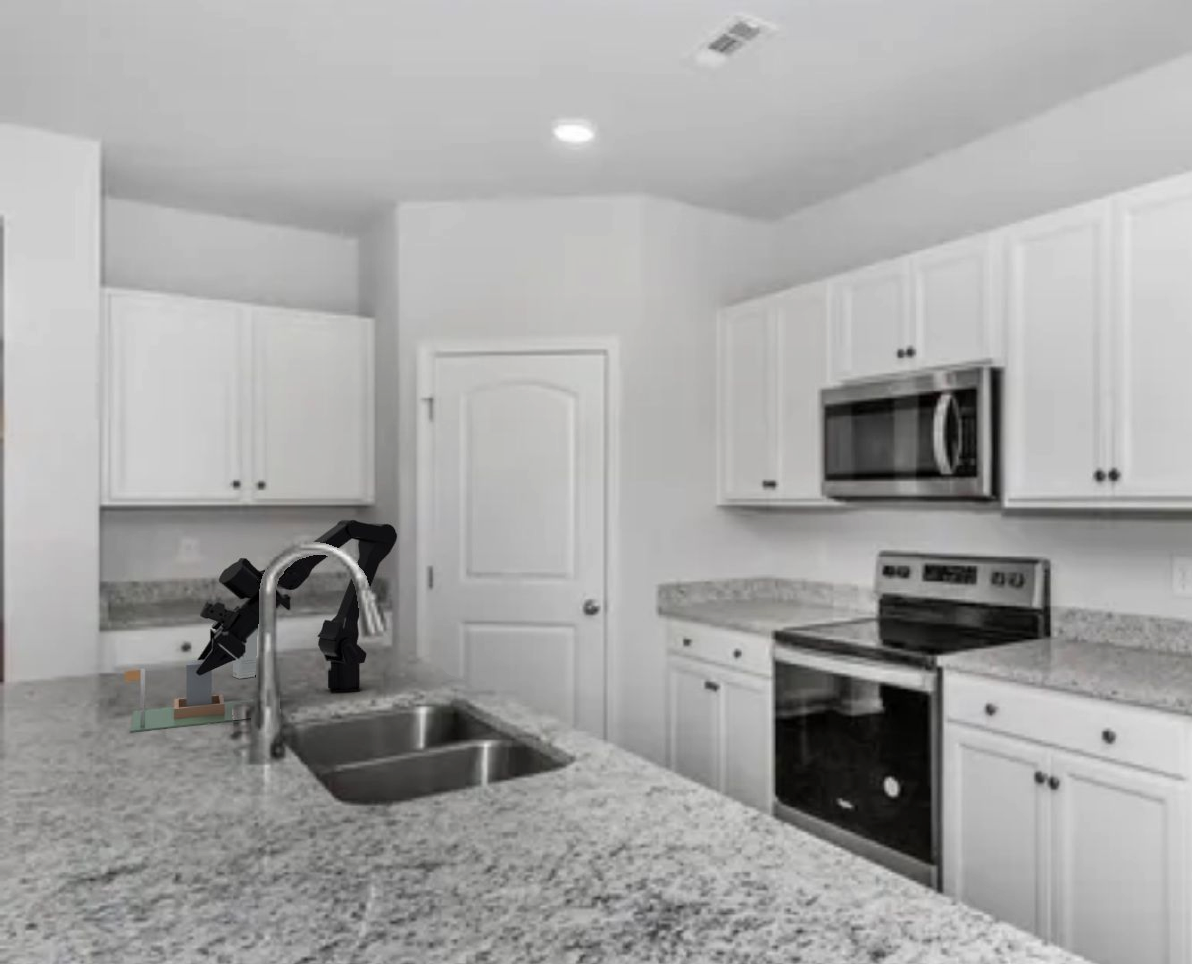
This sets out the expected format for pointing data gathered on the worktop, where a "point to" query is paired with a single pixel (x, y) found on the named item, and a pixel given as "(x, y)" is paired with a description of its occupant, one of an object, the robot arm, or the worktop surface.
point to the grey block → (197, 685)
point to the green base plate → (177, 710)
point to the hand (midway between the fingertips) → (197, 669)
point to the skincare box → (247, 659)
